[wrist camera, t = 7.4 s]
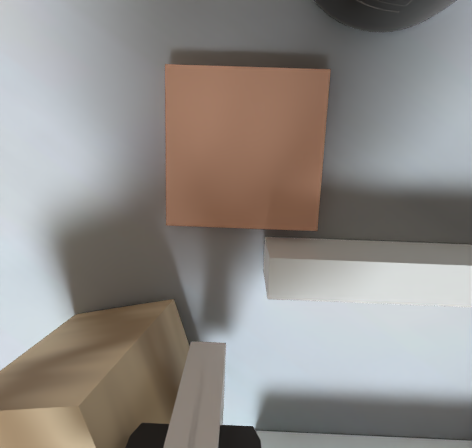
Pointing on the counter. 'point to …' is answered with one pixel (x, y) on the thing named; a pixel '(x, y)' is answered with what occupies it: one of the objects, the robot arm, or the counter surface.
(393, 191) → the counter surface
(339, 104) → the counter surface
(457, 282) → the channel
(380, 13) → the supplement bottle
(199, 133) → the tile
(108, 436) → the block
